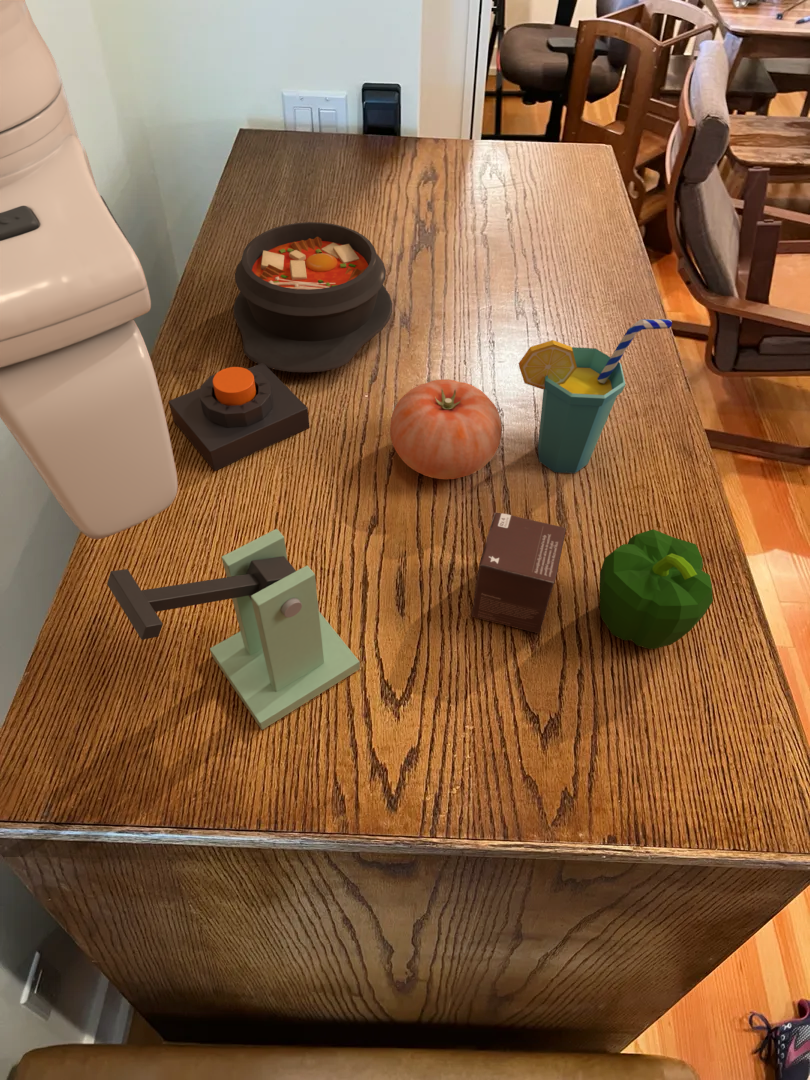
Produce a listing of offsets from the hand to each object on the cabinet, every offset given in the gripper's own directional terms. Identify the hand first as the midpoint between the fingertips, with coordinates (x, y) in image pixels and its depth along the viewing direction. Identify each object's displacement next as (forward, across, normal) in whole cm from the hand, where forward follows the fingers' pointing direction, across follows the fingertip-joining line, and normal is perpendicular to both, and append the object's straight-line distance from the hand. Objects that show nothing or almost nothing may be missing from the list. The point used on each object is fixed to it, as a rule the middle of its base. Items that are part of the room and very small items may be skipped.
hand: (77, 468), depth 37 cm
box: (+27, +6, +28) cm, 39 cm away
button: (+23, -27, +20) cm, 41 cm away
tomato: (+27, -11, +34) cm, 45 cm away
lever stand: (+27, 0, +9) cm, 28 cm away
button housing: (+27, -27, +20) cm, 43 cm away
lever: (+15, 0, +4) cm, 16 cm away
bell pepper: (+27, +14, +35) cm, 46 cm away
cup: (+27, -4, +45) cm, 53 cm away
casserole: (+27, -38, +36) cm, 59 cm away
